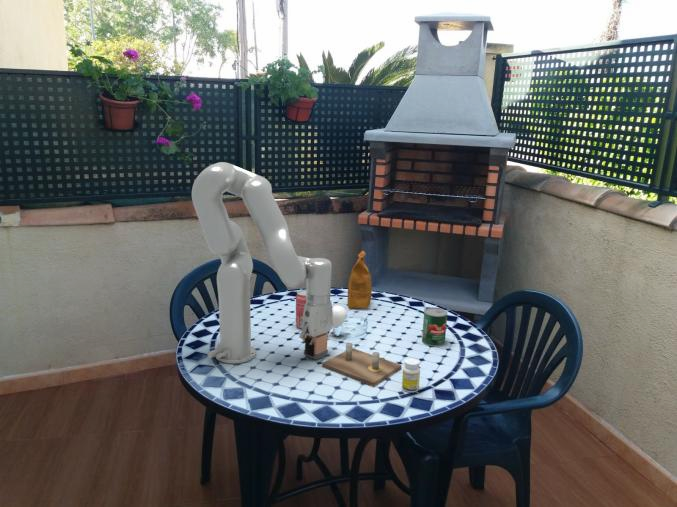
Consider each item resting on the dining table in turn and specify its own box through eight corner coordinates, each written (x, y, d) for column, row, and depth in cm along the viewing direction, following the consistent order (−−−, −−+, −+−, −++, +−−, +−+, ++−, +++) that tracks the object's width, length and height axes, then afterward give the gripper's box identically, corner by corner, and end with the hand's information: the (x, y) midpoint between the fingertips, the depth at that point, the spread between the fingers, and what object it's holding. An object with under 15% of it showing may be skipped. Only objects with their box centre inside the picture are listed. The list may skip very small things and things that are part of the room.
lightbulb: (330, 340, 179) (331, 309, 176) (326, 332, 185) (326, 303, 182) (348, 338, 180) (349, 308, 178) (343, 331, 186) (344, 302, 184)
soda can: (314, 330, 187) (315, 296, 184) (294, 329, 187) (295, 295, 184) (316, 323, 194) (316, 289, 190) (296, 322, 194) (296, 289, 191)
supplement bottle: (407, 383, 150) (409, 356, 148) (421, 388, 147) (423, 361, 145) (398, 389, 147) (400, 361, 145) (413, 394, 144) (414, 366, 142)
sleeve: (316, 359, 162) (317, 338, 161) (303, 354, 166) (304, 334, 164) (327, 354, 167) (328, 334, 165) (314, 349, 170) (315, 329, 168)
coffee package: (373, 301, 219) (375, 250, 214) (369, 311, 207) (372, 257, 202) (349, 299, 221) (351, 249, 216) (345, 309, 209) (346, 256, 204)
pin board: (373, 386, 147) (374, 366, 146) (321, 366, 159) (322, 347, 157) (401, 368, 159) (402, 349, 157) (351, 351, 170) (352, 333, 169)
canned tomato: (434, 348, 174) (437, 317, 172) (417, 340, 180) (419, 310, 177) (449, 342, 179) (452, 312, 177) (432, 335, 185) (434, 306, 182)
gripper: (308, 307, 153) (306, 364, 157) (344, 294, 166) (341, 347, 170) (290, 301, 157) (288, 356, 162) (326, 289, 170) (323, 341, 175)
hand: (315, 351), depth 166 cm, fingers closed on sleeve, 5 cm apart
